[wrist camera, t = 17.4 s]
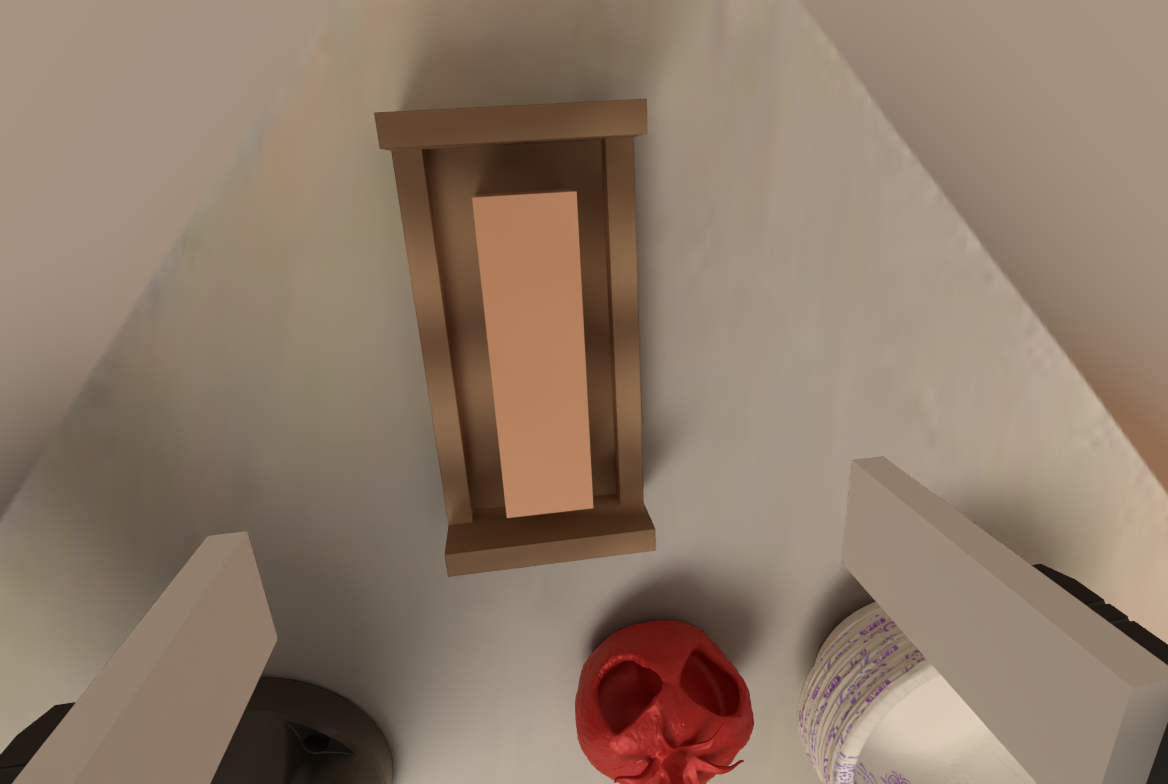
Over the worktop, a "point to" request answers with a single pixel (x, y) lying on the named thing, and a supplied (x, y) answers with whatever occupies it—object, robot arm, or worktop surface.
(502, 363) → the orange rectangular block
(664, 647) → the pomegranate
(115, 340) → the worktop surface
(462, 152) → the wooden crate tray
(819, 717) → the paper bowls
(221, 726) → the robot arm
